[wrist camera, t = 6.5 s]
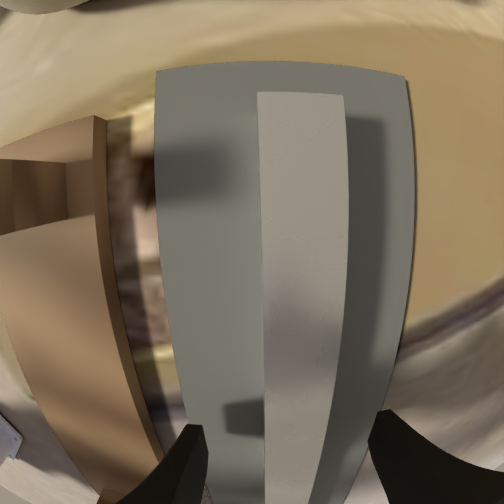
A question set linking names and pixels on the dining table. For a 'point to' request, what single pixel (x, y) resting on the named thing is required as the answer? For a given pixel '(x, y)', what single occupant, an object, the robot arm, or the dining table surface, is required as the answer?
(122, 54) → the dining table surface
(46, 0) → the teacup
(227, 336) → the mat
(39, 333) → the hook stands
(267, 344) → the steel bar
